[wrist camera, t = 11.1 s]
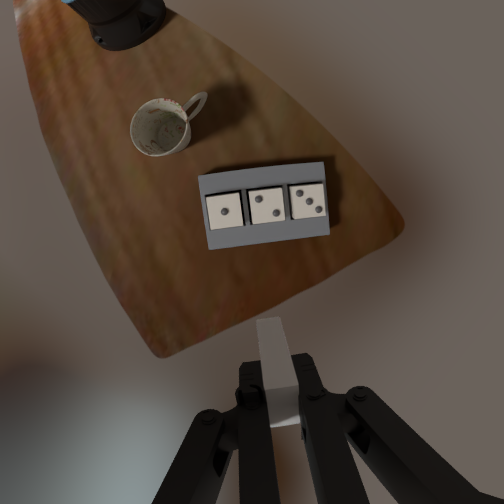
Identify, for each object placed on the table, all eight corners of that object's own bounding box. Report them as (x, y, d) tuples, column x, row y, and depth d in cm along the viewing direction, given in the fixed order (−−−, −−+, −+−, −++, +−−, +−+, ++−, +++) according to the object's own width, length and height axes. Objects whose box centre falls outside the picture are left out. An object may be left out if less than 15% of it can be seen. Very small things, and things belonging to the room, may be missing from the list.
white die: (248, 190, 46) (248, 191, 42) (278, 187, 46) (282, 188, 42) (251, 220, 47) (252, 224, 44) (281, 216, 48) (285, 220, 44)
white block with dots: (287, 186, 46) (291, 186, 42) (316, 183, 46) (323, 184, 42) (290, 215, 48) (295, 219, 44) (319, 212, 48) (326, 215, 44)
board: (200, 175, 46) (198, 175, 43) (318, 162, 46) (323, 161, 43) (210, 245, 49) (208, 249, 46) (324, 230, 49) (329, 234, 47)
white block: (208, 196, 46) (205, 197, 42) (238, 191, 46) (238, 193, 42) (212, 225, 47) (210, 230, 44) (242, 221, 47) (243, 225, 44)
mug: (141, 139, 44) (119, 132, 34) (191, 85, 42) (180, 65, 32) (174, 169, 46) (158, 168, 36) (226, 115, 44) (222, 99, 34)
